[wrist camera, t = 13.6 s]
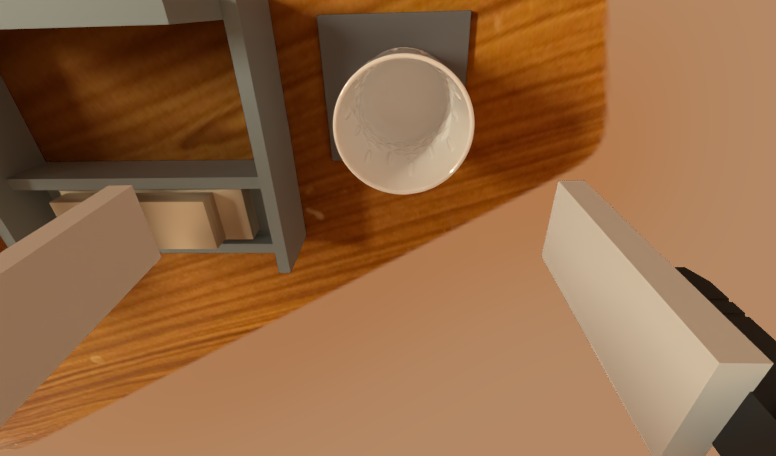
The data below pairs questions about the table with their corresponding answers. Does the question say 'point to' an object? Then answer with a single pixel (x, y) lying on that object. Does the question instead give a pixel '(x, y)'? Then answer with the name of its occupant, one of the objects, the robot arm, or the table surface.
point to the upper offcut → (170, 217)
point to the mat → (387, 45)
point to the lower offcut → (220, 209)
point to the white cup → (403, 122)
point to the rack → (262, 175)
